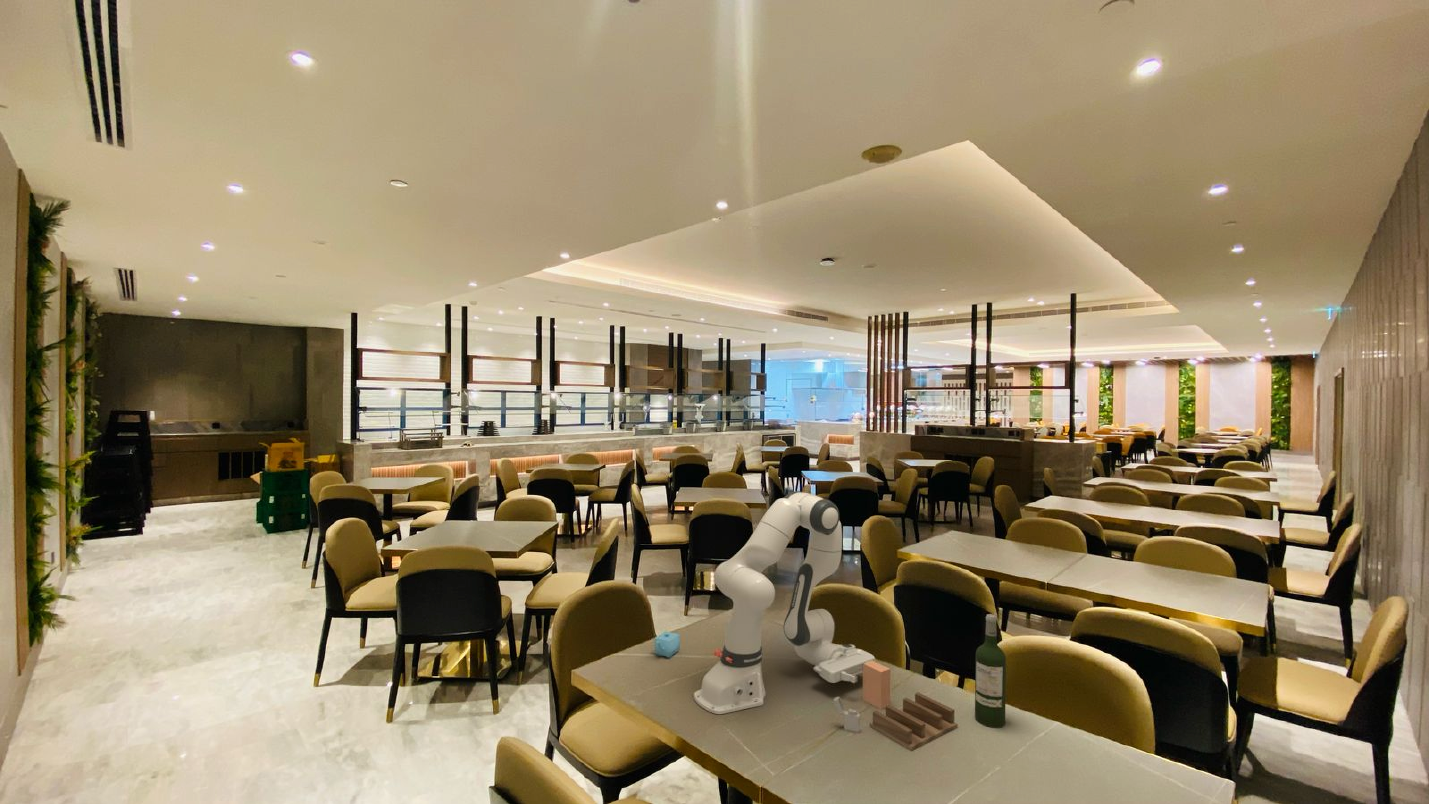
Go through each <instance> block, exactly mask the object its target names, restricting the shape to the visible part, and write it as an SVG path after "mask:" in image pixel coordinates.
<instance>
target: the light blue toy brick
mask: <svg viewBox="0 0 1429 804" xmlns="http://www.w3.org/2000/svg"><path fill="white" fill-rule="evenodd" d="M680 636H681V635H680V633H675V632H669V631H666V630H665V631H663V632H662V633H661V634H659V635H657V636H656V637H654V654H655V655H657V656H659V657H661V656H663V657H666V658H667V659H670V658H672V656H673V655H676V654H677V652H679V651H680V648H681V647H680V644H681V643H680V640H681V639H680V638H681V637H680Z"/></svg>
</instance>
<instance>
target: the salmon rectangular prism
mask: <svg viewBox="0 0 1429 804" xmlns="http://www.w3.org/2000/svg"><path fill="white" fill-rule="evenodd" d="M862 700H863V701H864V702H866V703H868V704H870V705H872V706H874V707H876V708H878V709H879V710H883V709H886V706H888V705H891V668H889V667H887V666H885V665H882V664H881V663H879V662H876V661H875V662H874V661H872V660H871V661H869V662H866V663H863V673H862Z"/></svg>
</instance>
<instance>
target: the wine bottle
mask: <svg viewBox="0 0 1429 804" xmlns="http://www.w3.org/2000/svg"><path fill="white" fill-rule="evenodd" d="M997 620H998V619H997V616H996V615H995V614H991V613H989V614H986V616H985V633H984V634H985V636H984V637H985V638H984V642H983V644H981V645H979V646H978V647H977V648H976V651H975V667H974V668H975V669H974V670H975V675H974V676H975V679H974V680H975V681H974V682H975V683H974V717H975V720H976V721H977V722H978V723H980V724H981V725H983V726H986V727H988V728H994V729H995V728H996V729H997V728H998V729H999V728H1002V727H1003V726H1004V725H1006V698H1007V696H1006V691H1007V689H1006V687H1007V686H1006V683H1007V682H1006V681H1007V679H1006V678H1007V658H1006V657H1007V656H1006V654H1005V652H1004V651H1003V650H1002V648H1001V647H1000V646H999V644H998V640H997Z"/></svg>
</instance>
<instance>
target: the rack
mask: <svg viewBox="0 0 1429 804" xmlns="http://www.w3.org/2000/svg"><path fill="white" fill-rule="evenodd" d="M914 696H915V697H914V700H912V699H911V698H908V697H904V698H903V699H902V708H901V709H898V708H896V707H895V706H893V705H891V704H890V705H888V706H886V707H885V714H884V713H882V712H881V711H878V710H874V711H872V722H869V727H870V728H872V729H873V730H875V731H877V732H879V733H880V734H882V735H884V736H886V737H887V738H889V739H890V738H891V739H890V740H892V741H894V742H896V743H897V744H899V745H901V746H903V747H904V746H905V747H904V748H906V749H908V750H909V749H910V750H909V751H911V752H912V751H913V750H916V749H918V748H919V747H921V746H924V745H925V744H926V745H927V744H928V743H930V742H932V741H934V740H936V739H937V738H939V737H941V736H943V735H944V736H945V734H947V733H950V732H951V731H953V730H955V729H958V723H956V722H955V709H953V708H952V707H949V706H947V705H945V704H944V703H941V702H940V701H937V700H935V699H933V698H931V697H929V696H927V695H924V694H923V693H920V692H916V693H915V694H914Z"/></svg>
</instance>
